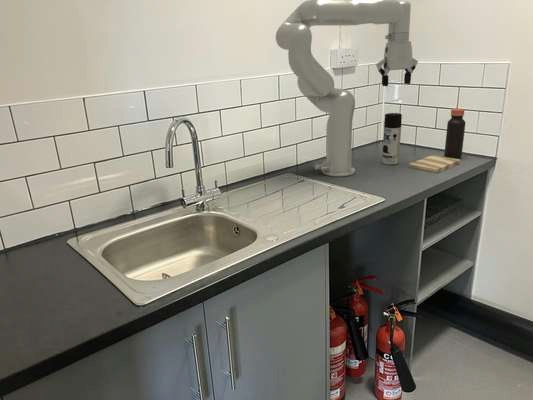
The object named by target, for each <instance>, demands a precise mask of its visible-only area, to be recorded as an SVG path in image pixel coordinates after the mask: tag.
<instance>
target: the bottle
mask: <svg viewBox="0 0 533 400" xmlns="http://www.w3.org/2000/svg"><path fill="white" fill-rule="evenodd" d="M464 116H465V109H463V108H451V110H450V117H451V118H450V119H448V121H447V126H446V135H445V143H444V144H445V145H444V154H443V157H448V158H454V159H459V160H461V159H462V155H463V147H464V139H465V129H466V121H465V120H464V118H463V117H464Z"/></svg>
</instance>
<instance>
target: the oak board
mask: <svg viewBox="0 0 533 400" xmlns="http://www.w3.org/2000/svg"><path fill="white" fill-rule="evenodd" d="M460 164H461V159H454V158H448V157H444V156H441V155H436V154H431V155H428V156H426V157H424V158H421V159H418V160H415V161H413V162H410V163H408V168H409V169H415V170H419V171H424V172H428V173H433V174H439V173H441V172H444V171H445V170H448V169H450V168H452V167H455V166H457V165H460Z"/></svg>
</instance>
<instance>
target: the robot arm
mask: <svg viewBox="0 0 533 400" xmlns="http://www.w3.org/2000/svg"><path fill="white" fill-rule="evenodd" d="M411 7H412V5H411V3H410V1H407V0H406V1H404V0H403V1H401V0H400V1H399V0H305V1H303V2H302V3H301V4H299V6H298V7H296V9H295V10H293V12H291V14H290V15H289V16H288V17H287V18H286V19H285V20H284V21H283V23H281V25H280V26H279V27H278V28H277V31H276V33H275V41H276V44H277V46H278V47H279V48H281V49H282V50H284V51H285V50H286V51H287V53H288V54H287V55H288V56H287V57H288V65H289V67H290V69H291V71H292V73H293V74H294V75H295V76H296V77H297V87H298V90H299V92H301V93H302V95H303V96H304V97H305V98H306V99H307V100H308V101H309V102H310V103H311V104H313V105H314V106H315V108H317V109H318V110H319V111H320V112H323V113H325V114H326V113H327V114H329V115H328V119H327V122H326V129H325V131H326V135H325V136H326V138H325V139H326V143H325V144H326V145H325V146H326V148H325V150H326V151H325V153H326V159H325V160H323V163H321V164H314V170H316V171H317V170H320V171H321V173H323V175H326V176H330V177H347V176H348V177H349V176H353V174H355V173H356V169H355V168H354V167H353V166H352V144H353V143H352V142H353V140H352V139H353V138H352V137H353V119H354V112H355V108H356V99H355V96H354V95H353V94H352V93H351V91H349V90H347V89H343V88H339V87H337V88H335V81H334V78H333V76H332V75H331V74H330V72H328V71H327V70H326V69H325V68H324V66H322V65H321V64H320V62H318V61H317V59H316V58H315V57H314V55H313V53H312V41H313V34H312V31H311V27H314V26H318V27H319V26H330V27H331V26H344V27H345V26H359V25H366V24H373V25H387V24H388V28H387V29H388V31H387V34H386V35H385V36H384V38H385V40H387V42H386V43H385V46H384V47H385V48H384V54H383V59H382V60H380V61H379V62H377V63H376V64H375V66H376V68H377V71H378V72H379V74H380V76H381V85H382V87H388V86H389V75H388V74H389V73H390V71H399V70H403V71H405V73H404V78H403V79H404V80H403V84H405V85H410V84H411V80H412V74H413V72H414V71H415V69H416V67H417V65H418V63H419V61H418V60H417V59H415V58H414V57H413V45H412V41H411V40H410V28H411V26H410V24H411ZM382 66H383V68H382Z"/></svg>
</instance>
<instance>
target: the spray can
mask: <svg viewBox="0 0 533 400" xmlns="http://www.w3.org/2000/svg"><path fill="white" fill-rule="evenodd" d="M402 116H403V115H402V113H400V112H397V113H396V112H389V113H385V114H384V122H383V138H382V140H383V142H382V157H381V158H382V159H381V162H382V164H384V165H387V166H395V165H398V164H399V163H400V151H401V148H400V147H401V137H402V118H403V117H402Z"/></svg>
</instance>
